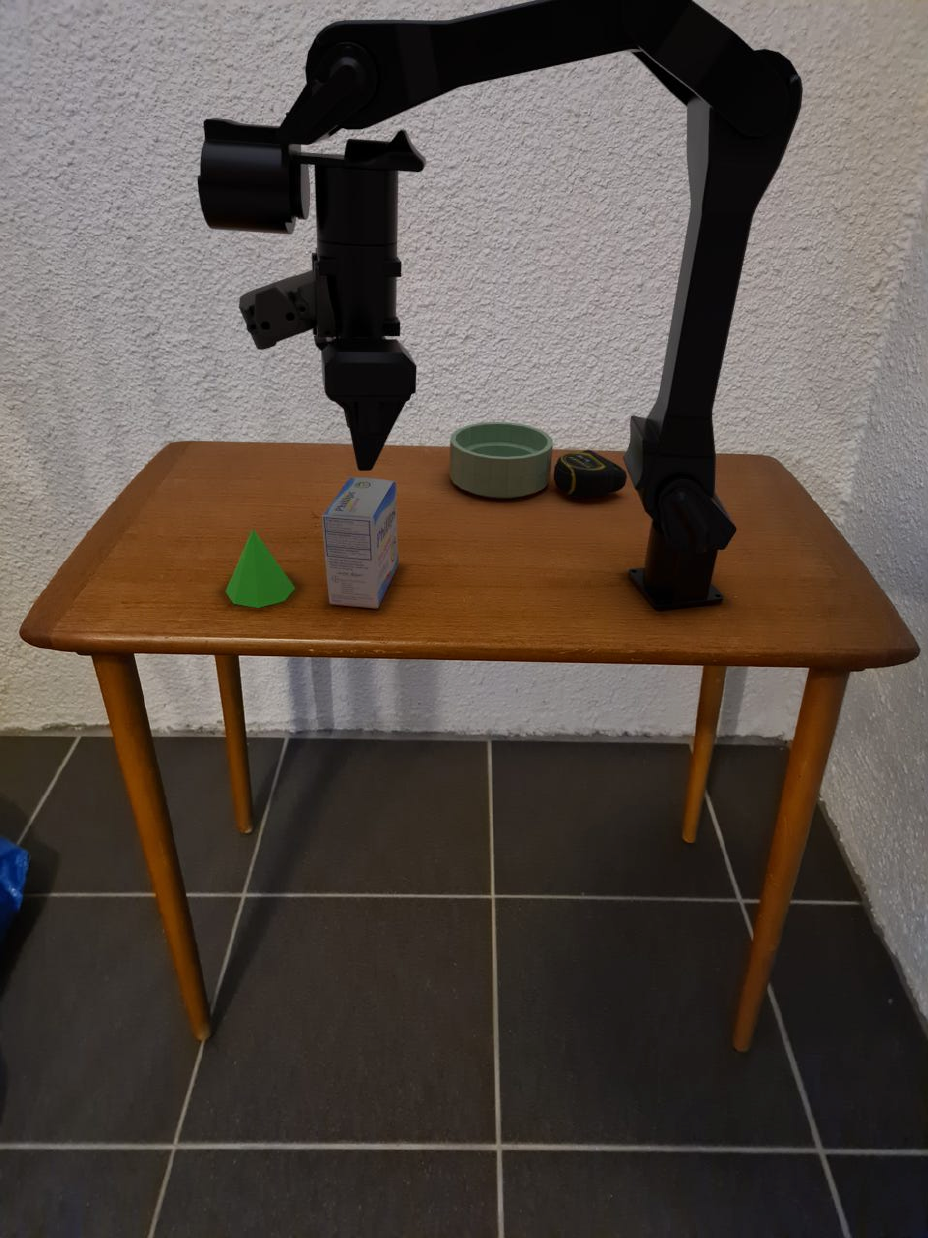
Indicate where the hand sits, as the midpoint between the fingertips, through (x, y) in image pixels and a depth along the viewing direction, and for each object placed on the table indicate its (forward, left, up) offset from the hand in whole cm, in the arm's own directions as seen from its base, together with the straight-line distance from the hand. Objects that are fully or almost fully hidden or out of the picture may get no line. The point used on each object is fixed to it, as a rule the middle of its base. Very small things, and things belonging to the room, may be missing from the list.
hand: (359, 447), depth 67 cm
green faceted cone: (0, +9, -13) cm, 16 cm away
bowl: (+19, -18, -13) cm, 29 cm away
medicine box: (-1, 0, -13) cm, 13 cm away
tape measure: (+15, -27, -13) cm, 33 cm away
